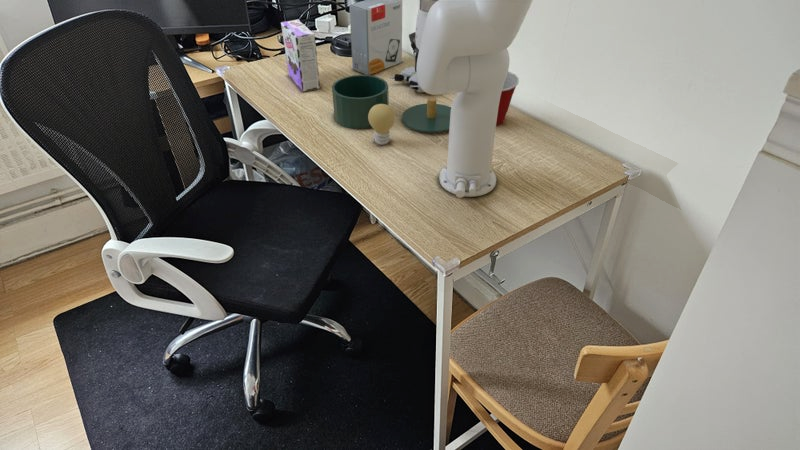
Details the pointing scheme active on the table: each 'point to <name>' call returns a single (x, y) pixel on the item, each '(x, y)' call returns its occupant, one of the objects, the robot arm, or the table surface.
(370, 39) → the hard drive box
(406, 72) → the robot toy
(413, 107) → the green pot lid
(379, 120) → the light bulb
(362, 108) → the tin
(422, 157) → the table surface
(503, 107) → the plastic cup
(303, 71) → the candy box
